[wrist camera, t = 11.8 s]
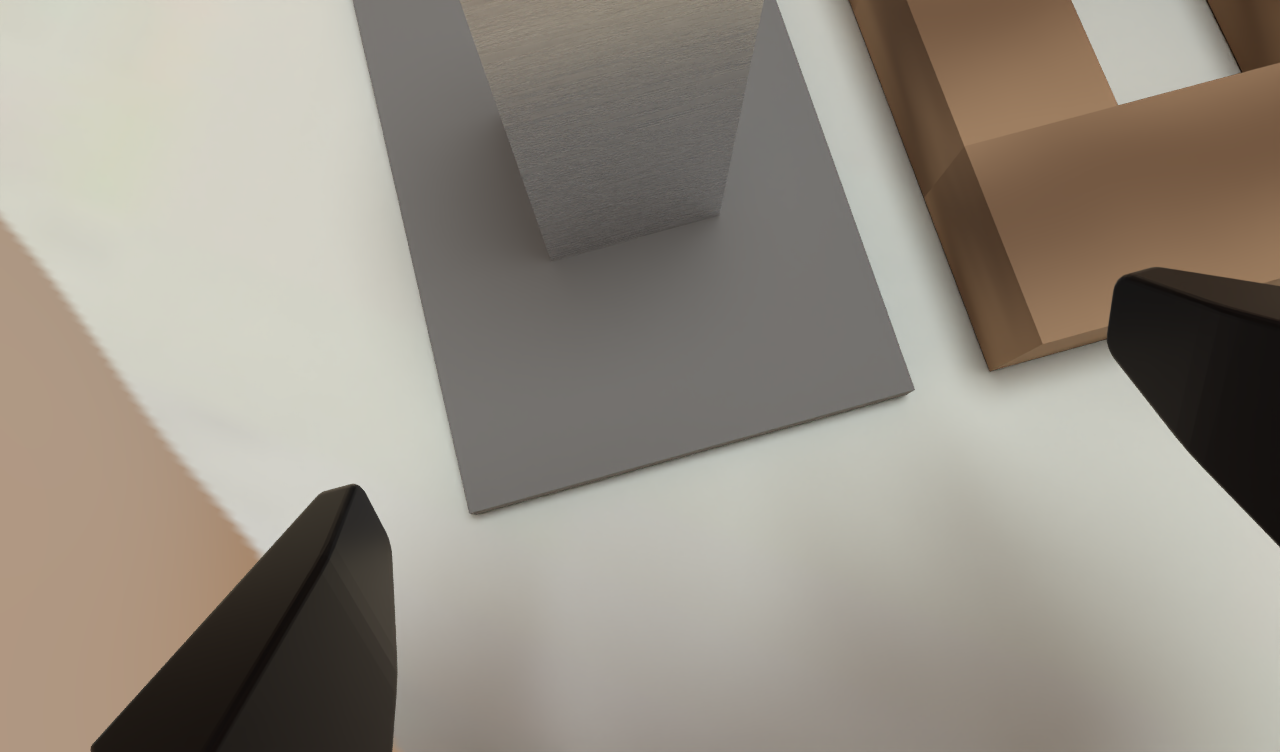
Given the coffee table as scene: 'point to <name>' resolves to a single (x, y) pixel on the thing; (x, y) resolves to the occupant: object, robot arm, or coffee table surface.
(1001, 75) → the brown wooden frame
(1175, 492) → the coffee table surface
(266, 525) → the coffee table surface
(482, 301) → the grey mat
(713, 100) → the steel key bar
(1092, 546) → the coffee table surface
